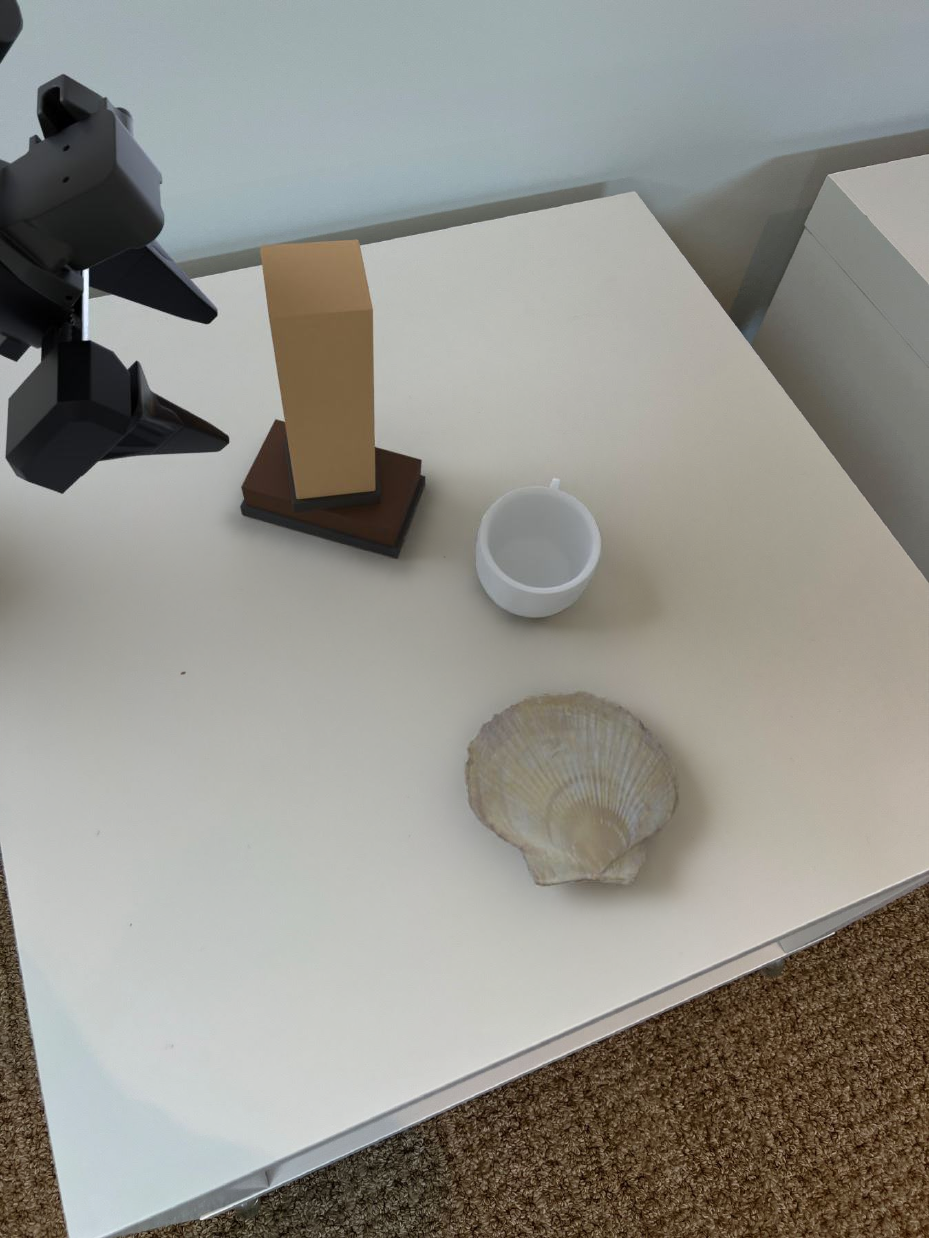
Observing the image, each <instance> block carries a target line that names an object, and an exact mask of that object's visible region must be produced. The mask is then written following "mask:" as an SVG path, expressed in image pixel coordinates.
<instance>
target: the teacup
mask: <svg viewBox="0 0 929 1238" xmlns="http://www.w3.org/2000/svg"><path fill="white" fill-rule="evenodd" d="M561 482H562V480H561V479H560V478H557V477H553V478H552V480H551V482H550V485H549V486H541V485H534V486H532V485H531V486H524V487H520V488H516V489H513V490H511V491H509V492H506V493H505V494H503V495H502V496H500V497H499V498H497V499H496V500H495V501H494V502H493V503H492V504H491V505H490V506H489V508H488V509H487V510H486V512H485V513H484V515H483V517H482V519H481V521H480V524H479V527H478V529H477V530H478V531H477V536H476V545H475V568H476V572H477V576H478V579H479V582H480V584H481V585H482V588H483V590H484V591H485V592H486V594H487V595H488V596H489V598H490V599H491V600H492V601H493V602H494V603H495V604H496V605H497V606H498V607H500V608H502V609H503V610H505V611H506V612H508V613H511V614H514V615H517V616H519V617H524V618H535V619H536V618H545V617H550V616H552V615H556V614H557V613H560V612H562V611H564V610H565V609H567V608H568V607H571V606H572V605H573V604H574V603H575V602H576V601H578V599H579V598H580V597H581V596H582V594H583V593H584V592H585V590H586V589H587V587H588V586H589V584H590V582H591V580H592V578H593V577H594V575H595V573H596V570H597V568H598V566H599V562H600V558H601V552H602V539H601V533H600V529H599V527H598V524H597V522H596V519H595V518H594V516H593V514H592V513H591V512H590V511H589V509H588V507H586V506H585V505H584V504H583V503H582V502H581V501H580V500H579V499H577V498H575V497H574V496H572V495H571V494H569V493H567V492H565V491H562V490H561Z"/></svg>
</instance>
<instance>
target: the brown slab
mask: <svg viewBox="0 0 929 1238" xmlns="http://www.w3.org/2000/svg"><path fill="white" fill-rule="evenodd" d="M284 435H287V432H286V426H285V420H280V419H277V418H275V419H274V421H273V423H272V425H271V426H270V429H269V431H268V433H267V434H266V437H265V439H264V440H263V443H262V445H261V447H260V448H259V450H258V453H257V455H256V456H255V459H254V460H253V462H252V465H251V466H250V468H249V470H248V472H247V475H246V477H245V478H244V481H243V483H242V485H241V487H240V488H241V493H242V496H243V499H242V502H241V504H240V507H239V508H240V512H241V515H242V516H245V517H248V518H252V519H256V520H258V521H262V522H265V523H269V524H273V525H276V526H279V527H284V528H287V529H290V530H293V531H297V532H301V533H304V534H309V535H311V536H315V537H318V538H322V539H325V540H329V541H332V542H336V543H338V544H342V545H347V546H350V547H353V548H357V549H360V550H364V551H368V552H371V553H374V554H377V555H378V554H379V555H381V556H385V557H388V558H392V559H396V560H397V559H398V558H399V556H400V553H401V551H402V547H403V545H404V541H405V540H406V537H407V534H408V532H409V530H410V526H411V523H412V522H413V521H412V520H413V519H414V515H415V513H416V511H417V507H418V505H419V502H420V501H421V500H420V499H421V497H422V494H423V492H424V489H425V487H426V480H427V479H426V477H427V476H425V475H422V461H423V460H422V459H420V458H417V457H413V456H410V455H406V454H402V453H399V452H395V451H392V450H389V449H384V448H381V447H378V446H375V465H376V471H377V476H378V482H379V487H380V492H381V503H378V504H369V505H360V506H351V507H342V508H333V509H325V510H316V511H307V512H298V513H294V510H293V504H292V496H291V488H290V480H289V473H288V465H287V457H286V449H285V441H284Z"/></svg>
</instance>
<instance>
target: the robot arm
mask: <svg viewBox="0 0 929 1238" xmlns="http://www.w3.org/2000/svg"><path fill="white" fill-rule="evenodd" d="M23 28H24V19H23V14H22V10H21V6H20V4H19V3H18V0H0V65H1V64H2V62H3V61H4V59H5V58H6V56H7V55H8V53H9V51H10V50H11V48H12V47H13V45H14V44H15V42H16V40H17V38H19V36H20V34H21V32H22V31H23ZM36 93H37V94H36V116H37V120H38V124H39V127H40V130H41V133H42V136H43V139H42V138H41V137H40V135H38V134H34V135H32V136H30V137H29V138H28V150H27V152H26V153H24V154H23V155H21V156H19V157H18V158H16V159H15V160H14V161H12V162H8V161H7V160H3V159H1V158H0V356H2V357H4V358H6V359H9V360H11V361H13V362H15V363H17V362H19V360H20V359H21V358H22V357H23V356H24V355H25V353H27V352H28V350H29V349H30V348H31V347H33V348H35V349H36V350H39V349H40V362H39V364H38V365H37V366H36V367H35V368H34V369H33V370H32V371H31V373H30V374H29V375H28V376H27V377H26V378H25V379H24V380H23V382H21V384H20V385H19V386H18V387H17V388H16V389H15V391H14V392H12V394H11V395H10V396H9V397H8V401H7V419H6V438H5V440H6V441H5V454H4V455H5V456H4V458H5V460H6V461H7V463H8V465H9V466H10V469H11V470H12V472H13V473H14V474H15V476H16V477H18V478H19V479H21V480H23V481H25V482H27V483H31V484H34V485H36V486H39V487H41V488H44V489H48V490H49V491H50V490H51V491H53V492H56V493H59V494H62V495H63V494H64V493H65V492H67V491H68V490H69V489H70V488H71V487H72V486H73V485H74V484H76V482H77V481H78V480H79V479H80V478H81V477H83V476H85V475H86V474H87V473H88V472H89V471H90V470H91V469H92V468H93V467H94V466H95V465H96V464H97V463H98V462H105V461H110V460H119V459H124V458H125V459H126V458H132V457H142V456H144V457H145V456H160V455H161V456H162V455H180V454H181V455H183V454H184V455H185V454H206V453H219V452H221V451H222V450H223V449H225V448H226V447H227V446H228V445H229V444H230V442H231V441H230V436H229V435H228V434H227V433H225V432H224V431H222V430H221V429H220V428H218V427H217V426H215V425H213V424H212V423H211V422H209V421H207V420H205V419H203V418H202V417H200V416H198V415H196V414H194V413H193V412H190V411H189V410H187V409H185V408H184V407H182V406H180V405H178V404H176V403H174V402H172V401H171V400H169V399H167V398H165V397H163V396H161V395H159V394H158V393H156V392H154V391H152V389H151V388H150V386H149V383H148V380H147V378H146V375H145V372H144V369H143V367H142V363H141V362H140V361H139V360H137V359H136V360H135V361H134V362H132V364H131V365H130V366H129V367H128V368H127V367H126V366H125V364H124V363H123V362H122V360H121V359H120V358H119V357H118V355H117V354H116V353H115V351H113V350H111V349H109V348H107V347H105V346H103V345H101V344H99V343H97V342H96V341H93V340H91V339H90V329H89V328H90V316H89V315H90V312H89V311H90V310H89V309H90V295H89V294H90V293H89V292H90V289H89V288H92V289H95V290H97V291H101V292H102V293H103V292H104V293H106V294H110V295H113V296H116V297H119V298H122V299H123V300H127V301H129V302H133V303H136V304H138V305H142V306H144V307H147V308H150V309H153V310H156V311H159V312H162V313H165V314H168V315H170V316H173V317H176V318H180V319H183V320H186V321H191V322H194V323H199V324H203V325H209V324H211V323H212V322H213V321H214V320H215V319H216V318H217V317H218V316H219V311H218V308H217V306H216V305H215V304H214V303H213V301H211V300H210V299H209V297H207V296H206V294H205V293H204V292H203V291H202V290H201V289H200V288H199V287H198V285H197V284H196V283H195V282H194V281H193V279H191V278H190V276H188V275H187V274H186V273H185V271H184V270H183V269H182V268H181V267H180V266H179V264H178V263H177V262H176V261H174V259H173V258H172V257H171V256H170V255H169V253H167V251H166V250H165V249H164V248H163V246H162V245H161V244H160V243H159V242H158V241H157V238H158V237H159V236H160V234H161V233H162V231H163V229H164V226H165V211H164V210H163V208H162V202H161V201H162V199H161V198H162V197H161V185H162V184H163V175H162V172H161V171H160V170H159V168H158V167H157V166H156V164H155V163H154V162H153V160H152V159H151V158H150V157H149V155H148V154H147V153H146V152H145V150H144V149H143V148H142V146H141V145H140V144H139V143H138V142H137V140H136V139H135V138H134V118H133V115H132V114H131V112H130V111H129V110H127V108H124V107H119V106H117V107H115V105H114V104H113V103H112V102H111V101H110V99H109V98H108V97H107V96H105V97H103V96H102V95H100V94H99V93H98V92H96V91H94V90H92V88H89V87H87V86H86V85H84V84H82V83H81V82H78V81H77V80H76V79H73V78H72V77H70V76H68V75H67V74H65V73H61V74H59V75H57V76H56V77H53V78H52V79H50V80H49V81H47V82H45V83H43V84H41V85H40V86H38V88H37V92H36Z"/></svg>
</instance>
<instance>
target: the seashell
mask: <svg viewBox="0 0 929 1238" xmlns="http://www.w3.org/2000/svg"><path fill="white" fill-rule="evenodd" d="M466 751H467V754H468V755H467V759H466V761H465V762H464V770H463V771H464V781H465V784H466V792H467V801H468V805H469V808H470V809H471V810H472V813H473V815H474V817H475V818H476V819H477V820H478V821H479V822H480V823H481V825H483V826H485V827H486V828H487V829H488V830H490V831H492V832H493V833H494V834H495V835H496V836H497V837H498V838H499V839H501V840H503V841H504V842H506V843H508V844H510V845H512V847H515V848H517V849H518V850H520V852H522V853H521V854H522V858H523V860H524V862H525V864H526V867H527V869H528V872H529V874H530V876H531V879H532V881H533V883H534V885H536V886H539V887H551V886H557V885H564V884H575V883H576V884H578V883H586V882H597V883H604V884H614V885H627V886H628V885H631V884H633V883H634V882H635V878H636V877H637V875H638V873H639V872H640V868H641V867H642V866H643V865H644V863H645V862H646V860H647V853H648V852H647V850H648V849H647V846H646V842H647V840H649V839H650V838H652V837H653V836H655V835H657V834H658V833H659V832H660V831H661V830H662V829H663V828H664V827H665V826H666V824H667V823H668V821H669V819H670V818H671V817H673V815H674V813H675V812H676V809H677V807H678V804H679V802H680V782H679V779H678V775H677V771H676V769H675V767H674V765H673V763H672V760H671V758H670V757H669V755H668V753H667V752H666V750H665V748H664V747H663V746H662V744H661V743H660V741H659V740H658V738H657V736H655V734H654V733H653V732H652V731H651V730H650V729H648V728H647V727H645V725H644V723H643V722H642V721H641V720H640V719H637V718H635V717H634V716H633V715H632V713H630V711H628V710H627V709H626V708H625V707H623V706H621V705H619V704H617V703H616V702H614V701H611V700H610V699H608V698H605V697H600V696H597V695H595V694H593V693H591V692H589V691H574V692H573V693H568V694H566V693H561V692H558V693H553V694H552V693H551V694H550V693H544V694H542V695H528V696H526V697H525V698H524V699H523V700H522V701H519V702H517V703H514V704H511V705H510V706H509V707H507V708H505V709H503V710H502V711H500V712H499V713H495V714H493V715H492V717H491V719H490V720H489V721H486V722H485V723H483V724H482V725H481V727H480V729H479V731H478V734H477V735H476V737H474V738H473V739H471V740H470V741H469V743H468V746H467V747H466Z"/></svg>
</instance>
